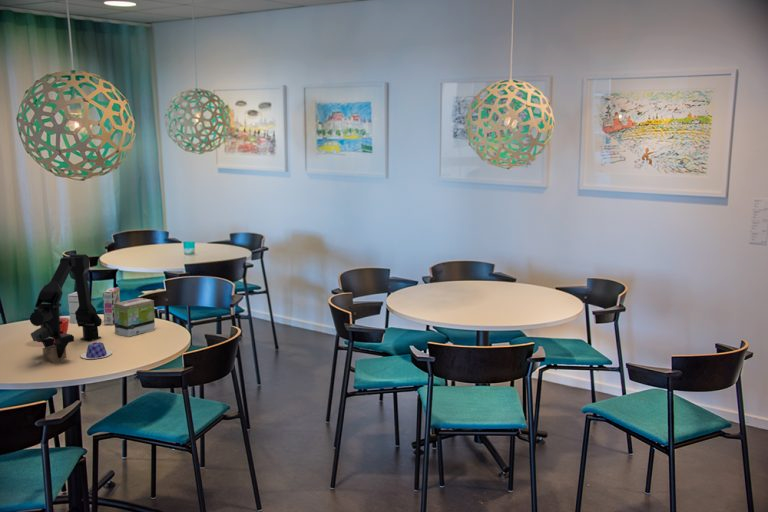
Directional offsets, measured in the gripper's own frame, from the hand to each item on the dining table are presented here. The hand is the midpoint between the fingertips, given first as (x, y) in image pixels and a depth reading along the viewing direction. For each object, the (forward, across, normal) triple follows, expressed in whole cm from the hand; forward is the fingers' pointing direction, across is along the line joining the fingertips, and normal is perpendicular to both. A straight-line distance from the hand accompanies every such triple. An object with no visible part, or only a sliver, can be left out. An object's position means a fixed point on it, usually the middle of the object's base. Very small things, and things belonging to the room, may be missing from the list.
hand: (54, 356), depth 279 cm
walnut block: (+1, 0, 0) cm, 1 cm away
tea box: (+1, -4, +44) cm, 44 cm away
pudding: (+2, +10, +12) cm, 16 cm away
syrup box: (+1, -42, +42) cm, 59 cm away
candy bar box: (+1, -27, +50) cm, 57 cm away
